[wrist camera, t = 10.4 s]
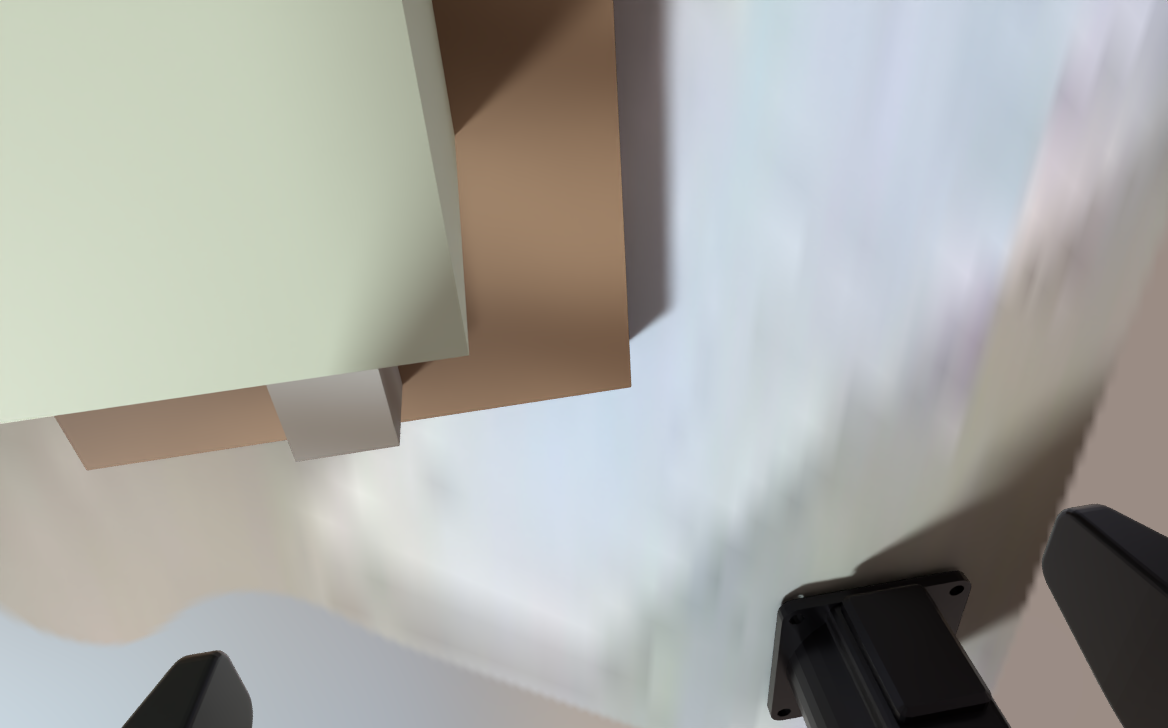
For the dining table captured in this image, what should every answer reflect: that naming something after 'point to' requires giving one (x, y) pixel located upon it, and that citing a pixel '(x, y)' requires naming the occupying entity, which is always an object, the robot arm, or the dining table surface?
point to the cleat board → (465, 257)
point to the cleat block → (221, 197)
